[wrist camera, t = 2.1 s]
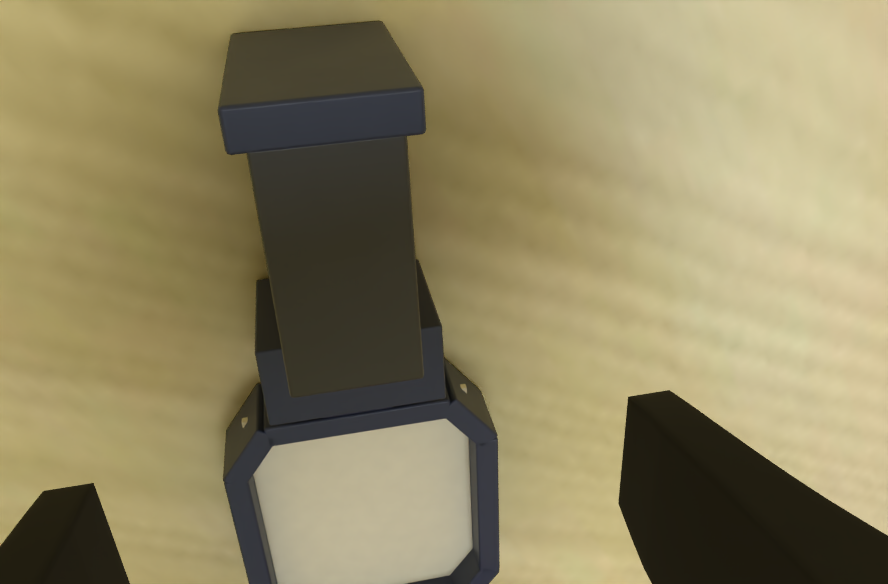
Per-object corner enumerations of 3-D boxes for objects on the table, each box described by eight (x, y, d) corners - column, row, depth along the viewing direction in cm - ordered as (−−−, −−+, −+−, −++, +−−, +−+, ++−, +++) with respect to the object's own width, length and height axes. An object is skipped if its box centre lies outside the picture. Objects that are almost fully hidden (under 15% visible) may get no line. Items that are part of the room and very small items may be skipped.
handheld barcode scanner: (134, 41, 16) (84, 120, 12) (470, 12, 17) (541, 75, 13) (265, 594, 25) (264, 760, 20) (484, 553, 26) (530, 702, 21)
